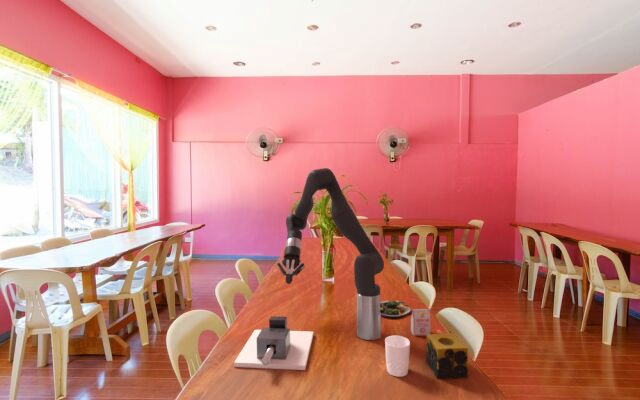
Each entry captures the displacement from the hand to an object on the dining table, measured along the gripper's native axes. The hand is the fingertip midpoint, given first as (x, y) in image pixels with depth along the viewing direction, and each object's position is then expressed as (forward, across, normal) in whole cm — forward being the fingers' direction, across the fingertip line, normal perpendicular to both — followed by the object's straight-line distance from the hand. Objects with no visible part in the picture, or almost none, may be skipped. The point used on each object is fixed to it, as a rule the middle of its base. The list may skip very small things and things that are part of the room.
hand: (288, 283), depth 142 cm
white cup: (+36, +42, -11) cm, 57 cm away
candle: (+35, +58, -10) cm, 68 cm away
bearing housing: (+31, 0, -9) cm, 33 cm away
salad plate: (+2, +45, +24) cm, 51 cm away
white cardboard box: (+17, +55, +8) cm, 58 cm away
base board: (+29, 0, -4) cm, 29 cm away
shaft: (+32, 0, -10) cm, 34 cm away
